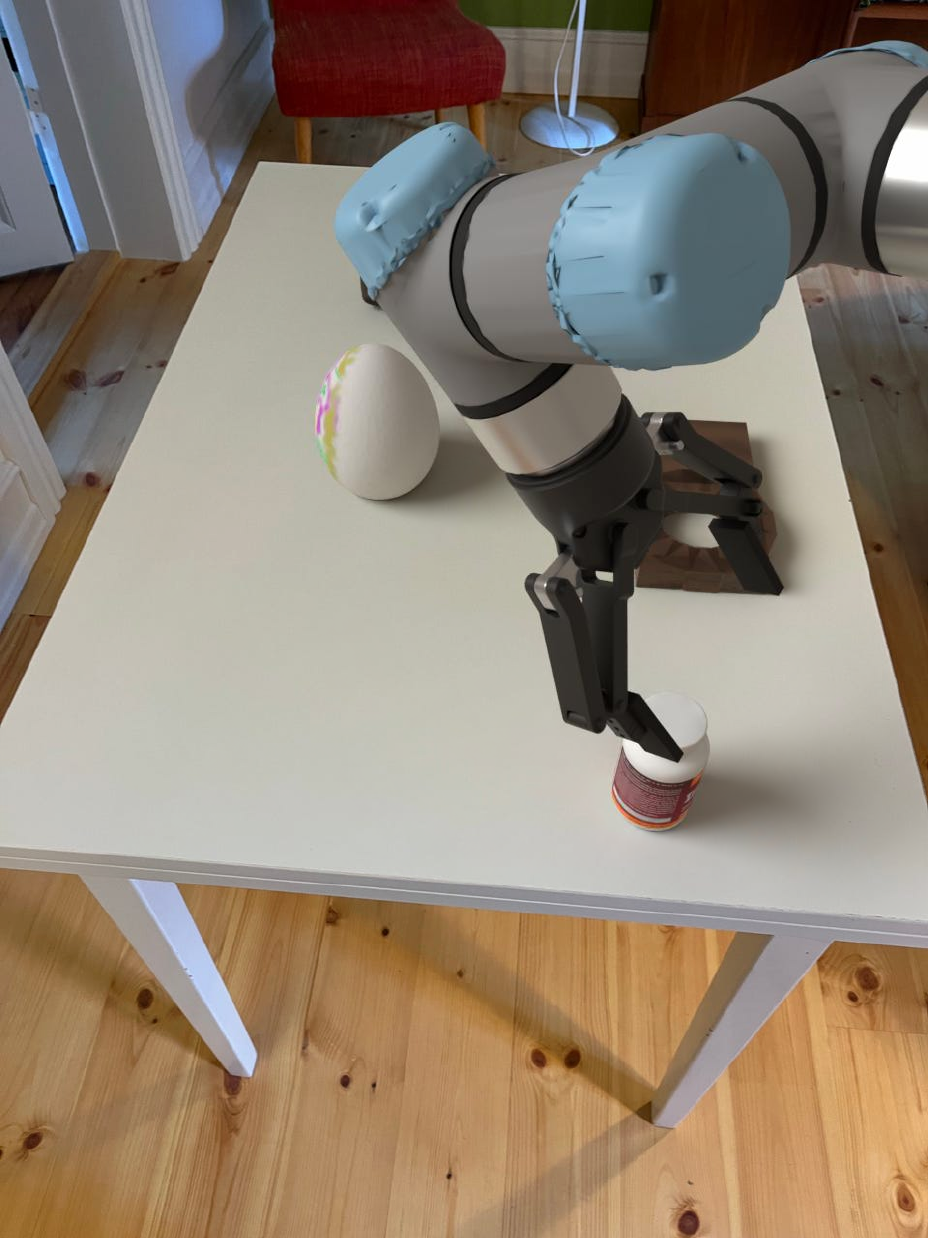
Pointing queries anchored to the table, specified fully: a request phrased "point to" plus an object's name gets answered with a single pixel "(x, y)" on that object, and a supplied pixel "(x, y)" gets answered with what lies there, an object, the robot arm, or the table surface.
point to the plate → (709, 566)
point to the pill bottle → (662, 767)
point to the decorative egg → (376, 422)
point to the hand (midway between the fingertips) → (716, 668)
